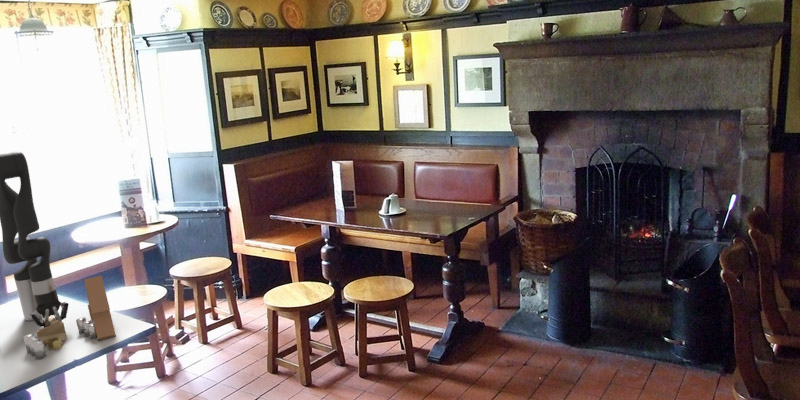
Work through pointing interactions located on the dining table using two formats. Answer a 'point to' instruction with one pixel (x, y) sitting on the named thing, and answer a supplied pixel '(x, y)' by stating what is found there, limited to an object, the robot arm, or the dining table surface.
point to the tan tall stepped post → (99, 308)
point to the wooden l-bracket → (51, 330)
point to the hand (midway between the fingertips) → (54, 332)
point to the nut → (55, 343)
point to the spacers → (37, 345)
